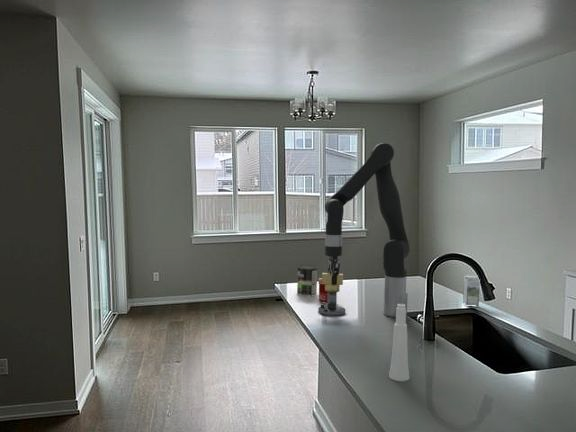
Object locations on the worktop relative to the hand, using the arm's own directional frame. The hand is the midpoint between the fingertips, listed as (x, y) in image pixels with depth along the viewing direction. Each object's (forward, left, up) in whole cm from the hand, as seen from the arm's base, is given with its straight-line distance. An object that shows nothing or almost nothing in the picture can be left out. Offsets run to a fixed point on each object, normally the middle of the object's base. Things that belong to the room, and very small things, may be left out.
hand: (333, 283), depth 205 cm
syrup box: (-45, -52, -13) cm, 70 cm away
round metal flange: (0, 0, -13) cm, 13 cm away
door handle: (+1, +1, -3) cm, 4 cm away
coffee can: (+28, -21, -13) cm, 38 cm away
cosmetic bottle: (-52, +46, -13) cm, 71 cm away
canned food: (+12, -15, -13) cm, 23 cm away
